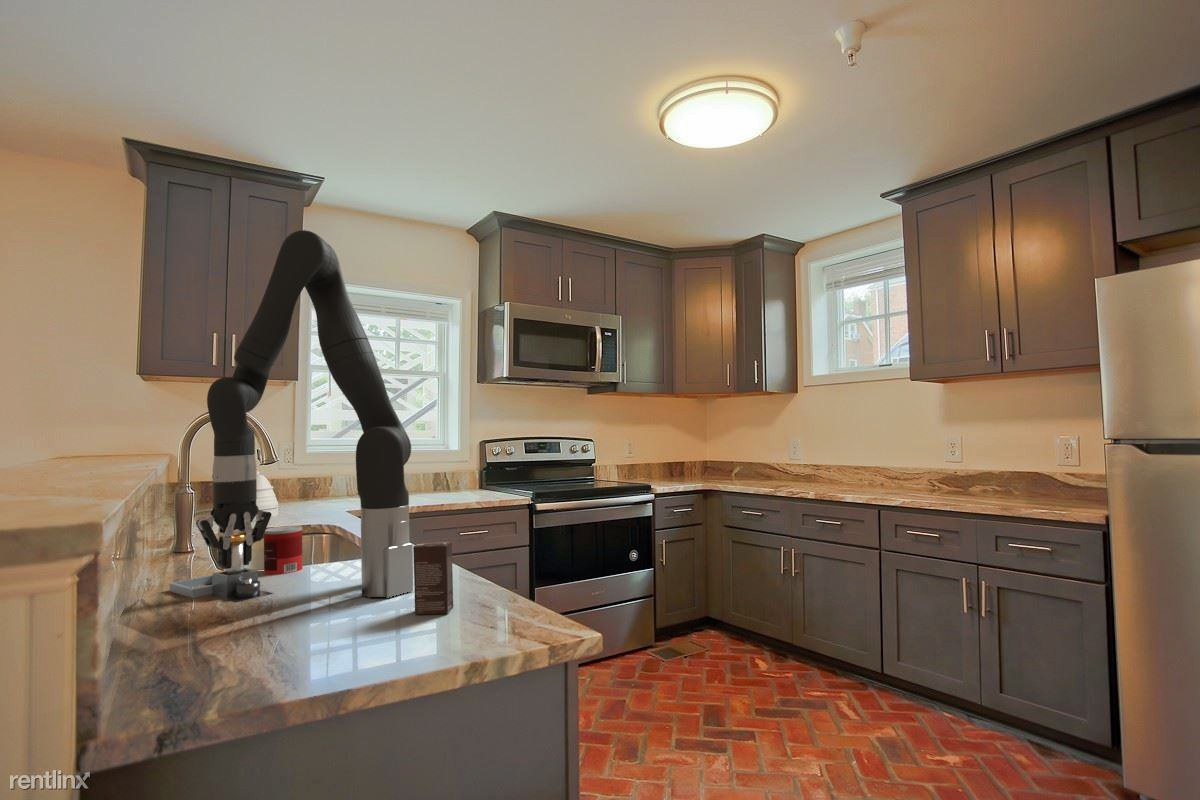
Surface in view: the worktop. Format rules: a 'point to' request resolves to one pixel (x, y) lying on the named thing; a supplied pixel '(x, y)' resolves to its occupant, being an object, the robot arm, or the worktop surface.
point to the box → (433, 578)
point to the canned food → (282, 550)
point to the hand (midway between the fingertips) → (235, 566)
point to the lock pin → (236, 554)
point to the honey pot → (266, 496)
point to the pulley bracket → (237, 586)
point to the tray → (186, 585)
